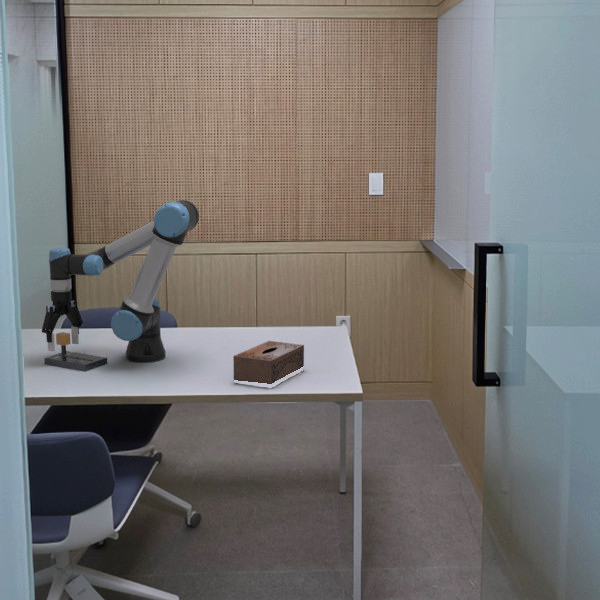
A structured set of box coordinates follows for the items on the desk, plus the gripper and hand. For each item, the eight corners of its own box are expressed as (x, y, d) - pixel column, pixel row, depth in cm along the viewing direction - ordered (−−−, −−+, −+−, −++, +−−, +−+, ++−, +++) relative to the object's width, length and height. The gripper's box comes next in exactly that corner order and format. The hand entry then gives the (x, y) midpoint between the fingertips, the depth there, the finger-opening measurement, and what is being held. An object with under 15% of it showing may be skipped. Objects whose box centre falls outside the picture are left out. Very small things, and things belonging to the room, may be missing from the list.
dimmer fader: (70, 354, 337) (70, 333, 336) (64, 356, 334) (64, 335, 333) (62, 353, 339) (62, 332, 337) (56, 355, 336) (55, 333, 335)
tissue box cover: (270, 389, 304) (270, 361, 303) (233, 384, 311) (233, 356, 309) (303, 371, 327) (304, 345, 325) (268, 367, 333) (268, 340, 332)
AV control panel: (107, 364, 335) (107, 357, 334) (85, 371, 324) (85, 364, 324) (67, 357, 344) (66, 350, 344) (44, 364, 334) (44, 357, 333)
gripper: (76, 284, 344) (78, 339, 348) (29, 294, 323) (32, 352, 327) (91, 286, 341) (93, 341, 345) (44, 296, 320) (47, 355, 324)
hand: (63, 347), depth 336 cm, fingers open, 12 cm apart
